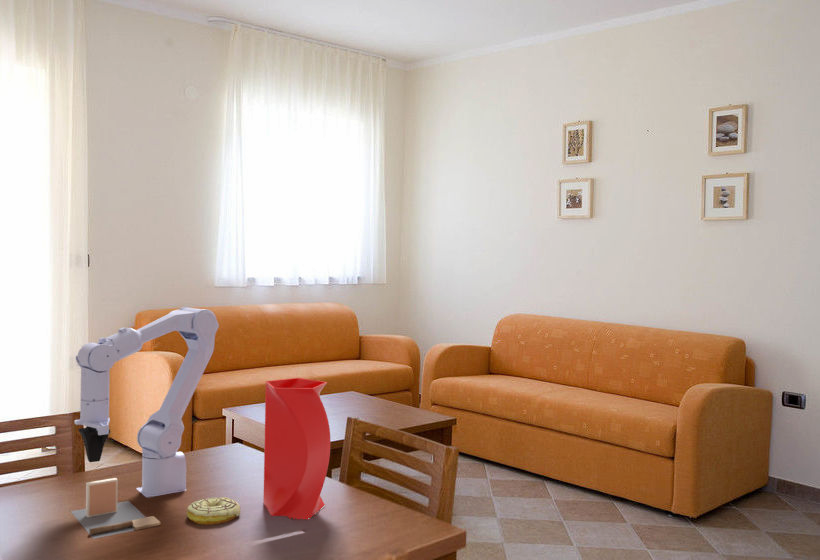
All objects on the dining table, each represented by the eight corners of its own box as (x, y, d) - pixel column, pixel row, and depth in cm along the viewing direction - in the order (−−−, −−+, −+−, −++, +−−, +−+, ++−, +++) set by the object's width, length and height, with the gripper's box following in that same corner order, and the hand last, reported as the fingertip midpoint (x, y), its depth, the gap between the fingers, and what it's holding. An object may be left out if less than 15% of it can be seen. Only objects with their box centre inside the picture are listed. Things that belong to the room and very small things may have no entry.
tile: (115, 510, 158) (115, 477, 158) (117, 512, 157) (118, 479, 157) (85, 515, 154) (86, 482, 154) (87, 517, 153) (88, 484, 153)
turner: (153, 518, 154) (153, 512, 154) (160, 524, 150) (160, 518, 150) (87, 532, 146) (87, 525, 146) (93, 539, 142) (93, 532, 142)
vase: (337, 510, 163) (340, 385, 162) (285, 527, 152) (288, 393, 151) (295, 494, 173) (297, 375, 172) (242, 508, 163) (245, 382, 162)
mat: (128, 503, 164) (128, 500, 164) (155, 528, 150) (155, 526, 150) (70, 514, 157) (70, 511, 157) (93, 541, 142) (93, 538, 142)
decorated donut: (249, 520, 157) (250, 502, 156) (205, 533, 149) (205, 514, 149) (222, 507, 164) (222, 490, 164) (178, 519, 156) (178, 501, 156)
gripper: (66, 394, 163) (66, 455, 163) (84, 406, 151) (83, 472, 152) (100, 391, 167) (99, 451, 168) (119, 403, 156) (118, 467, 156)
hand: (94, 461), depth 160 cm, fingers closed
